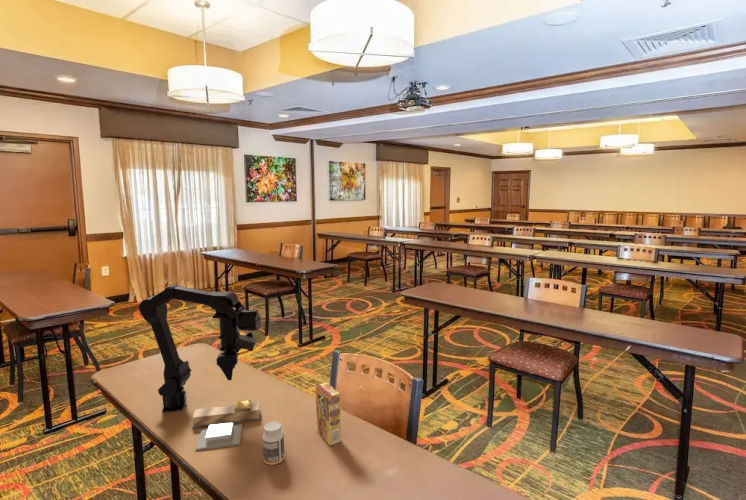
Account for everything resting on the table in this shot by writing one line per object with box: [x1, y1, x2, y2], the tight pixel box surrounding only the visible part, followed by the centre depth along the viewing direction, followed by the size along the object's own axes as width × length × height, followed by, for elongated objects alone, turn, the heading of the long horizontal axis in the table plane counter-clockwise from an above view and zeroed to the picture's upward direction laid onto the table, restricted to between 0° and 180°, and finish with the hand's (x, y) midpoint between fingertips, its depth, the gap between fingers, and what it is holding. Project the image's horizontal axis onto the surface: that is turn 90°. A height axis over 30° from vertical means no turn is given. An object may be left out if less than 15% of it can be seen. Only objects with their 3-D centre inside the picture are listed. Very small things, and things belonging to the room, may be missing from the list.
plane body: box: [192, 401, 261, 429], centre depth 134 cm, size 20×5×4 cm, turn 103°
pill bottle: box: [261, 421, 285, 466], centre depth 114 cm, size 6×6×10 cm
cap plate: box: [206, 422, 234, 444], centre depth 124 cm, size 7×6×2 cm
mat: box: [195, 424, 243, 452], centre depth 124 cm, size 12×10×1 cm
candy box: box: [315, 382, 342, 446], centre depth 123 cm, size 9×4×15 cm, turn 33°
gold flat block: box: [234, 399, 252, 411], centre depth 135 cm, size 1×4×5 cm
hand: (231, 374), depth 140 cm, fingers open, 9 cm apart
